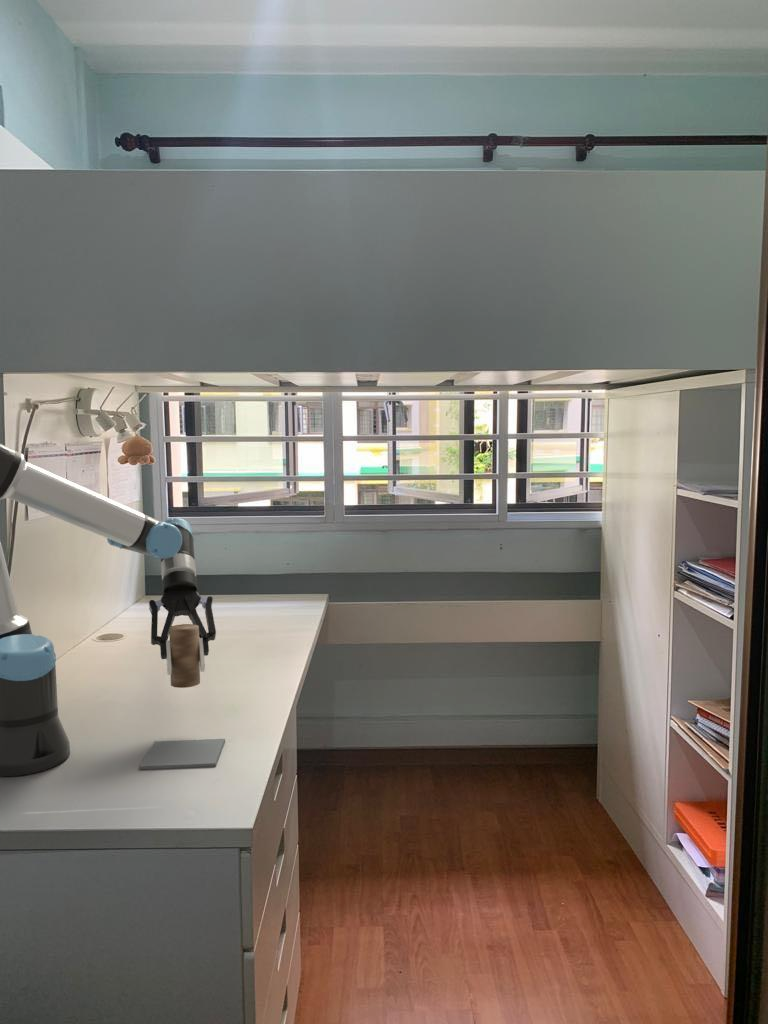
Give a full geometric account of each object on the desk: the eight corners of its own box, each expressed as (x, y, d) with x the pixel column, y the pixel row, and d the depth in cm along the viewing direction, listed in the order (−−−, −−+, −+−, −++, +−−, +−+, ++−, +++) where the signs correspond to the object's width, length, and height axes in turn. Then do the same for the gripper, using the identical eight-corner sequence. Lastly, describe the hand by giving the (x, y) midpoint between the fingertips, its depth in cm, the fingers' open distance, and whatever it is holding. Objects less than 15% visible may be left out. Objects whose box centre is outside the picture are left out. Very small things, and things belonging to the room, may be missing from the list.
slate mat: (139, 769, 142) (139, 766, 142) (154, 744, 154) (154, 741, 154) (215, 766, 143) (215, 763, 142) (225, 741, 154) (225, 738, 154)
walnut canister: (167, 688, 158) (166, 630, 157) (174, 679, 164) (172, 624, 163) (197, 687, 158) (195, 630, 157) (202, 678, 164) (201, 623, 163)
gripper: (221, 586, 177) (231, 674, 163) (135, 591, 171) (138, 683, 157) (223, 566, 172) (234, 656, 157) (134, 571, 166) (137, 664, 152)
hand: (186, 669), depth 157 cm, fingers closed on walnut canister, 6 cm apart
